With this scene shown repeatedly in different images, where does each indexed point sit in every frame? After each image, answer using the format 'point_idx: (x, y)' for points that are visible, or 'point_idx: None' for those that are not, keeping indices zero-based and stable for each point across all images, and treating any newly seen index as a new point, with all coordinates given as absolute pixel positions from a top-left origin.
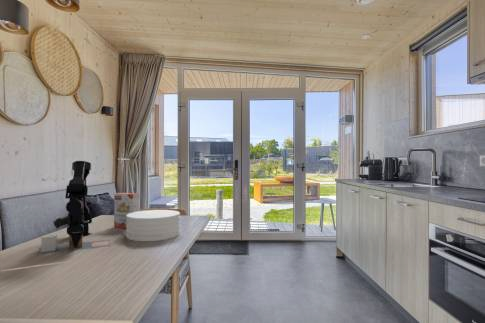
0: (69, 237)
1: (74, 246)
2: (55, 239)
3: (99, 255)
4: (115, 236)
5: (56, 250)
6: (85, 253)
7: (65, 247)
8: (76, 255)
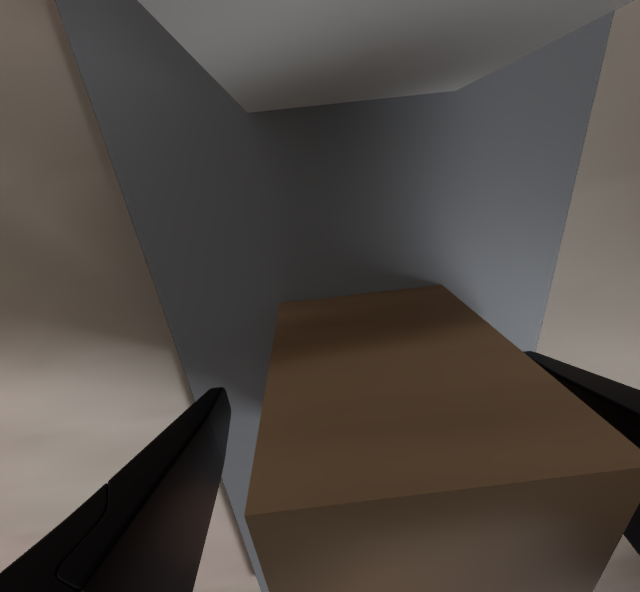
0: (259, 446)
1: (206, 398)
2: (161, 16)
3: (16, 551)
4: (607, 566)
5: (237, 135)
6: (95, 462)
7: (380, 242)
8: (25, 406)
